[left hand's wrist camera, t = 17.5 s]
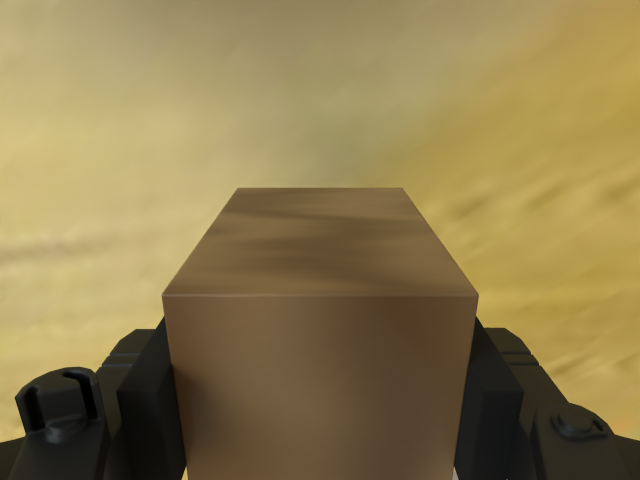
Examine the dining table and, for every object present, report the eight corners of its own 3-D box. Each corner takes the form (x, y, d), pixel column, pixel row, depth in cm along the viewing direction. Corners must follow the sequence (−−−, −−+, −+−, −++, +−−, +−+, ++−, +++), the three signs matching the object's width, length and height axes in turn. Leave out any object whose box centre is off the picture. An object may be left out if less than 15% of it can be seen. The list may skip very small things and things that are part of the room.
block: (247, 331, 18) (193, 522, 10) (237, 187, 16) (159, 294, 8) (392, 332, 18) (447, 523, 10) (403, 187, 16) (480, 293, 8)
